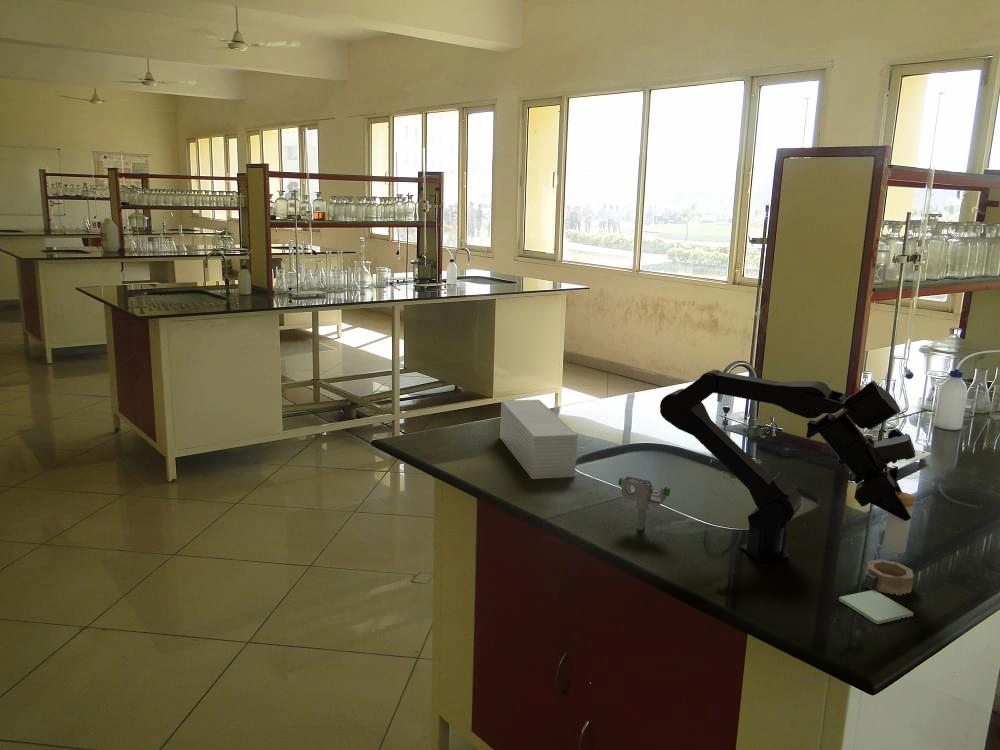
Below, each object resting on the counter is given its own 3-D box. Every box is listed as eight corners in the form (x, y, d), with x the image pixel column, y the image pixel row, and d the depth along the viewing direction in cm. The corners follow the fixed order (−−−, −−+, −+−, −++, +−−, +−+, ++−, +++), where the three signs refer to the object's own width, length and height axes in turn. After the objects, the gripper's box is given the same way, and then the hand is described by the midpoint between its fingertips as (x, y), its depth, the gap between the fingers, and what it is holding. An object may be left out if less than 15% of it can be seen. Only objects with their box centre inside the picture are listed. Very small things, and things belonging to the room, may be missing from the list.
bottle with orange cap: (894, 555, 134) (904, 500, 132) (877, 545, 138) (885, 492, 135) (910, 552, 136) (920, 498, 133) (892, 543, 139) (901, 490, 137)
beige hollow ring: (884, 598, 133) (887, 582, 132) (851, 579, 140) (853, 563, 139) (919, 591, 136) (922, 575, 136) (886, 572, 143) (888, 557, 142)
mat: (876, 624, 125) (877, 620, 125) (838, 600, 132) (839, 596, 132) (913, 616, 128) (913, 612, 128) (873, 592, 135) (874, 589, 135)
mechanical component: (662, 537, 154) (667, 489, 152) (614, 525, 159) (617, 478, 156) (667, 532, 156) (671, 485, 154) (619, 520, 161) (622, 474, 159)
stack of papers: (499, 438, 213) (501, 400, 210) (537, 437, 215) (539, 399, 213) (532, 479, 183) (534, 436, 180) (574, 477, 185) (577, 434, 183)
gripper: (887, 431, 125) (954, 510, 123) (891, 406, 141) (949, 475, 139) (828, 467, 130) (891, 544, 128) (838, 439, 146) (894, 507, 144)
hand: (908, 515), depth 134 cm, fingers closed on bottle with orange cap, 4 cm apart
